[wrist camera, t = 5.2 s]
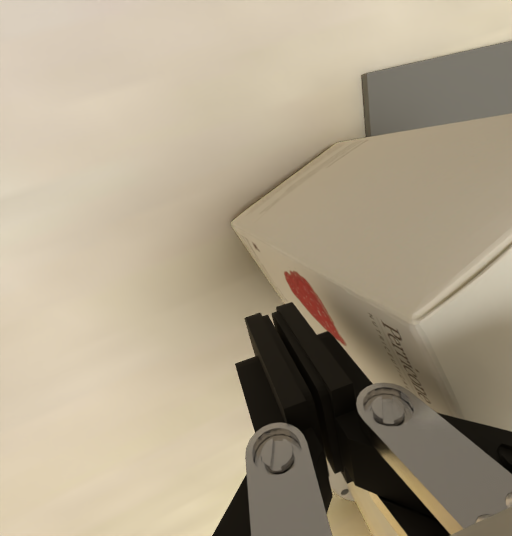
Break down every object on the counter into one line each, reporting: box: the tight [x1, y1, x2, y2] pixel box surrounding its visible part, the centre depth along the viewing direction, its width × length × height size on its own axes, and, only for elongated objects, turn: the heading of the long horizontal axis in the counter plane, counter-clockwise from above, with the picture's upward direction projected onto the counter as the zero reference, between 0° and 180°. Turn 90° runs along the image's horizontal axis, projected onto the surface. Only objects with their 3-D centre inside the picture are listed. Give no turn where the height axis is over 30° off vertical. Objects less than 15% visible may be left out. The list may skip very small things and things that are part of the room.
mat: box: [362, 41, 512, 137], centre depth 25 cm, size 18×19×1 cm
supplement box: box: [231, 113, 512, 431], centre depth 15 cm, size 9×9×15 cm
